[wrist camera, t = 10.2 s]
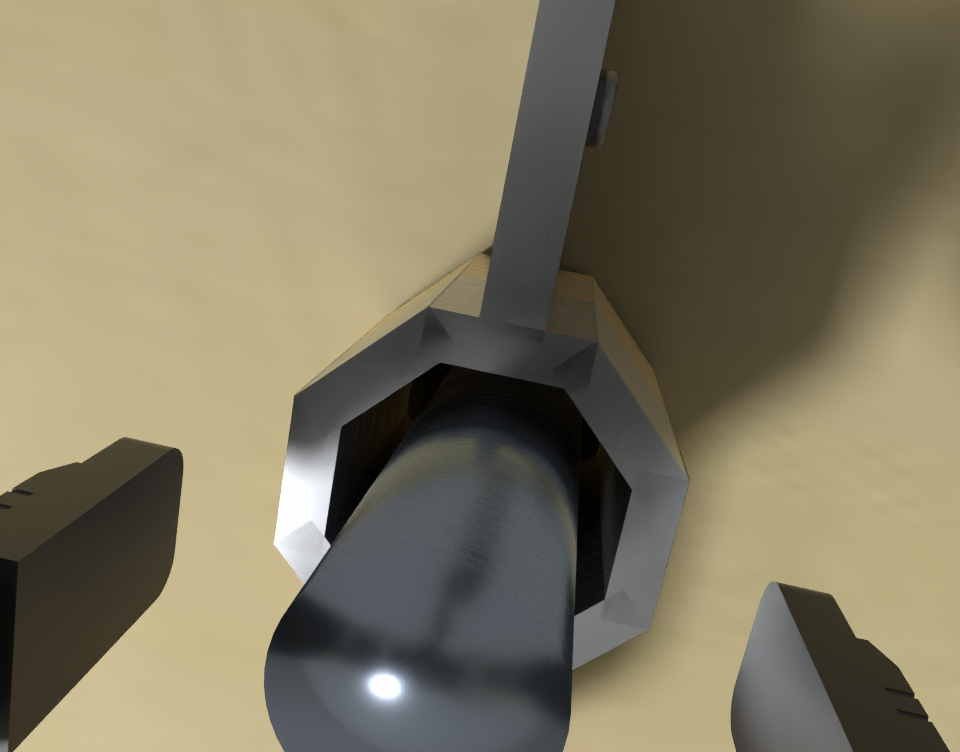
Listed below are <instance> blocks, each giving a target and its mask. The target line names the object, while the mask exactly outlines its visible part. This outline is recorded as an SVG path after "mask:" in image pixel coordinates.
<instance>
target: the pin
mask: <svg viewBox="0 0 960 752" xmlns="http://www.w3.org/2000/svg"><path fill="white" fill-rule="evenodd" d="M581 420H582V414H581V413H580V411H579V410H578V408H577V407H576V405H575V404H574V402H573V401H572V399H571V398H570V396H569V395H568V393H567V392H566V390H565V389H564V388H560V387H555V386H550V385H546V384H541V383H536V382H531V381H527V380H522V379H517V378H512V377H508V376H503V375H498V374H494V373H489V372H484V371H479V370H475V369H470V368H465V367H460V366H456V365H453V367H452V368H451V369H450V371H449V372H448V374H447V375H446V377H445V378H444V380H443V381H442V383H441V384H440V386H439V387H438V389H437V390H436V392H435V393H434V395H433V396H432V397H431V399H430V400H429V402H428V403H427V405H426V406H425V408H424V409H423V411H422V412H421V414H420V415H419V417H418V418H417V420H416V421H415V422H414V424H413V425H412V427H411V428H410V430H409V431H408V433H407V434H406V436H405V437H404V439H403V440H402V442H401V443H400V445H399V446H398V448H397V449H396V450H395V452H394V453H393V455H392V456H391V458H390V459H389V461H388V462H387V464H386V465H385V467H384V468H383V470H382V471H381V473H380V474H379V475H378V477H377V478H376V480H375V481H374V483H373V484H372V486H371V487H370V489H369V490H368V492H367V493H366V495H365V496H364V498H363V499H362V501H361V502H360V503H359V505H358V506H357V508H356V509H355V511H354V512H353V514H352V515H351V517H350V518H349V520H348V521H347V523H346V524H345V526H344V527H343V528H342V530H341V531H340V533H339V534H338V536H337V537H336V539H335V540H334V542H333V543H332V545H331V546H330V548H329V549H328V551H327V552H326V554H325V555H324V556H323V558H322V559H321V561H320V562H319V564H318V565H317V567H316V568H315V570H314V571H313V573H312V574H311V576H310V577H309V579H308V580H307V581H306V583H305V584H304V586H303V587H302V589H301V590H300V592H299V593H298V595H297V596H296V598H295V599H294V601H293V602H292V604H291V605H290V607H289V608H288V609H287V611H286V612H285V614H284V615H283V617H282V618H281V620H280V622H279V624H278V626H277V628H276V630H275V632H274V634H273V637H272V640H271V643H270V646H269V649H268V652H267V658H266V663H265V673H264V690H265V699H266V705H267V709H268V713H269V717H270V721H271V724H272V726H273V729H274V731H275V734H276V736H277V739H278V741H279V742H280V744H281V746H282V748H283V750H284V751H285V752H562V751H563V749H564V746H565V742H566V739H567V735H568V731H569V723H570V716H571V692H572V665H573V638H574V611H575V583H576V556H577V529H578V502H579V474H580V447H581Z"/></svg>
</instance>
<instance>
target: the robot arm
mask: <svg viewBox="0 0 960 752" xmlns="http://www.w3.org/2000/svg"><path fill="white" fill-rule="evenodd" d="M182 477H183V457H182V453H181V452H180V450H179V449H176V448H172V447H168V446H163V445H158V444H154V443H149V442H145V441H140V440H136V439H131V438H127V437H125V438H121V439H119V440H118V441H116V442H114V443H113V444H111V445H110V446H108V447H107V448H105V449H103V450H102V451H100V452H99V453H97V454H95V455H94V456H92V457H91V458H89V459H87V460H86V461H84V462H83V463H78V462H76V463H72V464H68V465H65V466H61V467H57V468H54V469H50V470H46V471H43V472H39V473H37V474H36V475H34V476H32V477H31V478H29V479H27V480H26V481H24V482H22V483H21V484H19V485H17V486H16V487H14V488H13V490H12V492H8V491H7V492H6V493H4V494H2V495H1V496H0V752H13V751H14V750H15V749H16V748H17V747H18V746H19V745H20V744H21V742H22V741H23V740H24V739H25V738H26V737H27V736H28V735H29V734H30V733H31V732H32V731H33V730H34V729H35V728H36V727H37V726H38V724H39V723H40V722H41V721H42V720H43V719H44V718H45V717H46V716H47V715H48V714H49V713H50V712H51V711H52V710H53V709H54V707H55V706H56V705H57V704H58V703H59V702H60V701H61V700H62V699H63V698H64V697H65V696H66V695H67V694H68V693H69V692H70V691H71V689H72V688H73V687H74V686H75V685H76V684H77V683H78V682H79V681H80V680H81V679H82V678H83V677H84V676H85V675H86V674H87V673H88V671H89V670H90V669H91V668H92V667H93V666H94V665H95V664H96V663H97V662H98V661H99V660H100V659H101V658H102V657H103V656H104V655H105V653H106V652H107V651H108V650H109V649H110V648H111V647H112V646H113V645H114V644H115V643H116V642H117V641H118V640H119V639H120V638H121V637H122V635H123V634H124V633H125V632H126V631H127V630H128V629H129V628H130V627H131V626H132V625H133V624H134V623H135V622H136V621H137V620H138V618H139V617H140V616H141V615H142V614H143V613H144V612H145V611H146V610H147V609H148V608H149V607H150V606H151V605H152V604H153V603H154V602H155V600H156V599H157V598H158V597H159V595H160V594H161V592H162V590H163V588H164V586H165V584H166V582H167V579H168V577H169V574H170V571H171V568H172V564H173V559H174V553H175V544H176V534H177V525H178V515H179V506H180V496H181V487H182ZM914 695H915V694H914V692H913V690H912V689H911V687H910V685H909V684H908V682H907V681H906V679H905V677H904V676H903V674H902V672H901V671H900V669H899V667H898V666H896V665H895V664H894V663H893V662H892V661H891V660H890V659H888V658H887V657H886V656H885V655H884V654H883V653H882V652H880V651H879V650H878V649H877V648H876V647H875V646H874V645H872V644H871V643H870V642H869V641H868V640H864V639H859V638H856V637H855V635H854V633H853V631H852V629H851V628H850V626H849V624H848V622H847V621H846V619H845V617H844V615H843V613H842V612H841V610H840V608H839V606H838V605H837V603H836V601H835V599H834V598H833V596H832V595H830V594H827V593H823V592H818V591H814V590H809V589H805V588H800V587H796V586H791V585H787V584H782V583H777V582H771V583H770V584H769V585H768V586H767V587H766V589H765V591H764V593H763V596H762V598H761V601H760V604H759V608H758V611H757V614H756V618H755V621H754V624H753V627H752V631H751V634H750V637H749V641H748V644H747V647H746V651H745V654H744V657H743V660H742V664H741V667H740V670H739V674H738V677H737V680H736V684H735V687H734V692H733V698H732V705H731V731H732V737H733V741H734V745H735V748H736V752H950V751H949V749H948V748H947V746H946V744H945V743H944V741H943V740H942V738H941V736H940V735H939V733H938V731H937V730H936V728H935V726H934V725H933V723H932V722H928V715H927V713H926V712H925V710H924V708H923V707H922V705H921V703H920V702H919V700H918V699H914Z"/></svg>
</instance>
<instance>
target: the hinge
mask: <svg viewBox="0 0 960 752" xmlns="http://www.w3.org/2000/svg"><path fill="white" fill-rule="evenodd" d="M615 1H616V0H540V2H539V7H538V12H537V18H536V23H535V28H534V33H533V39H532V44H531V49H530V54H529V60H528V65H527V70H526V75H525V81H524V86H523V91H522V96H521V101H520V107H519V112H518V117H517V122H516V128H515V133H514V138H513V143H512V149H511V154H510V159H509V164H508V169H507V175H506V180H505V185H504V190H503V196H502V201H501V206H500V211H499V217H498V222H497V227H496V232H495V238H494V243H493V248H492V253H491V255H486V254H481V253H479V254H478V255H477V256H475V257H474V258H472V259H471V260H469V261H468V262H466V263H465V264H463V265H462V266H460V267H459V268H457V269H456V270H454V271H453V272H451V273H450V274H448V275H447V276H445V277H444V278H443V279H441V280H440V281H438V282H437V283H435V284H434V285H432V286H431V287H429V288H428V289H426V290H425V291H423V292H422V293H420V294H419V295H417V296H416V297H414V298H413V299H411V300H410V301H408V302H407V303H406V304H404V305H403V306H401V307H400V308H398V309H397V310H395V311H394V312H392V313H391V314H388V315H387V316H386V317H385V318H384V319H383V320H381V321H380V322H379V323H378V324H377V325H376V326H374V327H373V328H372V329H371V330H370V331H369V332H367V333H366V334H365V335H364V336H363V337H362V338H360V339H359V340H358V341H357V342H356V343H355V344H353V345H352V346H351V347H350V348H349V349H348V350H346V351H345V352H344V353H343V354H342V355H341V356H339V357H338V358H337V359H336V360H335V361H334V362H332V363H331V364H330V365H329V366H328V367H327V368H325V369H324V370H323V371H322V372H321V373H320V374H318V375H317V376H316V377H315V378H314V379H313V380H311V381H310V382H309V383H308V384H307V385H306V386H304V387H303V388H302V389H301V390H300V391H299V392H297V393H296V394H295V395H294V402H293V410H292V417H291V424H290V432H289V439H288V446H287V453H286V461H285V468H284V475H283V482H282V490H281V497H280V504H279V511H278V519H277V526H276V533H275V540H274V543H273V544H274V545H275V546H276V548H277V549H278V550H279V552H280V553H281V554H282V556H283V557H284V558H285V560H286V561H287V562H288V564H289V565H290V566H291V568H292V569H293V570H294V572H295V573H296V574H297V576H298V577H299V578H300V579H301V581H302V582H303V583H304V584H305V583H306V581H307V580H308V579H309V577H310V576H311V574H312V573H313V571H314V570H315V568H316V567H317V565H318V564H319V562H320V561H321V559H322V558H323V556H324V555H325V554H326V552H327V551H328V549H329V548H330V546H331V545H332V543H333V542H334V540H335V539H336V537H337V536H338V534H339V533H340V531H341V530H342V528H343V527H344V526H345V524H346V523H347V521H348V520H349V518H350V517H351V515H352V514H353V512H354V511H355V509H356V508H357V506H358V505H359V503H360V502H361V501H362V499H363V498H364V496H365V495H366V493H367V492H368V490H369V489H370V487H371V486H372V484H373V483H374V481H375V480H376V478H377V477H378V475H379V474H380V473H381V471H382V470H383V468H384V467H385V465H386V464H387V462H388V461H389V459H390V458H391V456H392V455H393V453H394V452H395V450H396V449H397V448H398V446H399V445H400V443H401V442H402V440H403V439H404V437H405V436H406V434H407V433H408V431H409V430H410V428H411V427H412V425H413V424H414V423H413V421H412V420H411V419H410V417H409V416H408V414H407V413H406V412H407V407H408V401H409V395H410V389H411V384H412V380H414V379H415V378H417V377H418V376H420V375H421V374H423V373H425V372H426V371H428V370H429V369H431V368H432V367H434V366H435V365H437V364H438V363H440V362H441V363H446V364H451V365H456V366H460V367H465V368H470V369H475V370H479V371H484V372H489V373H494V374H498V375H503V376H508V377H512V378H517V379H522V380H527V381H531V382H536V383H541V384H546V385H550V386H555V387H560V388H564V389H565V390H566V392H567V393H568V395H569V396H570V398H571V399H572V401H573V402H574V404H575V405H576V407H577V408H578V410H579V411H580V413H581V414H582V416H583V417H584V419H585V420H586V422H587V423H588V425H589V426H590V428H591V429H592V431H593V432H594V434H595V435H596V437H597V438H598V440H599V441H600V445H599V449H598V453H597V454H596V455H595V456H593V457H591V458H589V459H588V460H586V461H584V462H583V463H581V464H580V474H579V502H578V529H577V556H576V583H575V611H574V638H573V665H572V670H574V669H576V668H578V667H579V666H581V665H583V664H585V663H587V662H589V661H591V660H593V659H595V658H596V657H598V656H600V655H602V654H604V653H606V652H608V651H610V650H611V649H613V648H615V647H617V646H619V645H621V644H623V643H625V642H627V641H628V640H630V639H632V638H634V637H636V636H638V635H640V634H642V633H643V632H645V631H647V630H650V629H651V628H650V626H651V623H652V619H653V615H654V611H655V608H656V604H657V600H658V597H659V593H660V589H661V585H662V582H663V578H664V574H665V570H666V567H667V563H668V559H669V556H670V552H671V548H672V544H673V541H674V537H675V533H676V530H677V526H678V522H679V518H680V515H681V511H682V507H683V504H684V500H685V496H686V492H687V489H688V485H689V482H690V479H689V476H688V473H687V470H686V467H685V464H684V461H683V458H682V455H681V452H680V449H679V446H678V443H677V439H676V436H675V433H674V430H673V427H672V424H671V421H670V418H669V415H668V412H667V409H666V406H665V403H664V399H663V396H662V393H661V390H660V387H659V384H658V381H657V378H656V375H655V372H654V370H653V369H652V367H651V366H650V364H649V362H648V361H647V359H646V358H645V356H644V355H643V353H642V352H641V350H640V349H639V347H638V346H637V344H636V342H635V341H634V339H633V338H632V336H631V335H630V333H629V332H628V330H627V329H626V327H625V326H624V324H623V323H622V321H621V319H620V318H619V316H618V315H617V313H616V312H615V310H614V309H613V307H612V306H611V304H610V303H609V301H608V300H607V298H606V296H605V295H604V293H603V292H602V290H601V289H600V287H599V286H598V284H597V283H596V281H595V280H594V278H593V276H589V275H584V274H579V273H574V272H569V271H564V270H559V265H560V260H561V255H562V250H563V246H564V241H565V236H566V232H567V227H568V222H569V217H570V213H571V208H572V203H573V199H574V194H575V189H576V184H577V180H578V175H579V170H580V166H581V161H582V156H583V151H584V147H590V148H595V149H603V147H604V143H605V139H606V135H607V131H608V126H609V122H610V118H611V113H612V108H613V104H614V99H615V94H616V90H617V85H618V79H619V74H620V72H617V71H611V70H606V69H601V67H602V62H603V57H604V52H605V48H606V43H607V38H608V34H609V29H610V24H611V19H612V15H613V10H614V5H615Z"/></svg>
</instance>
